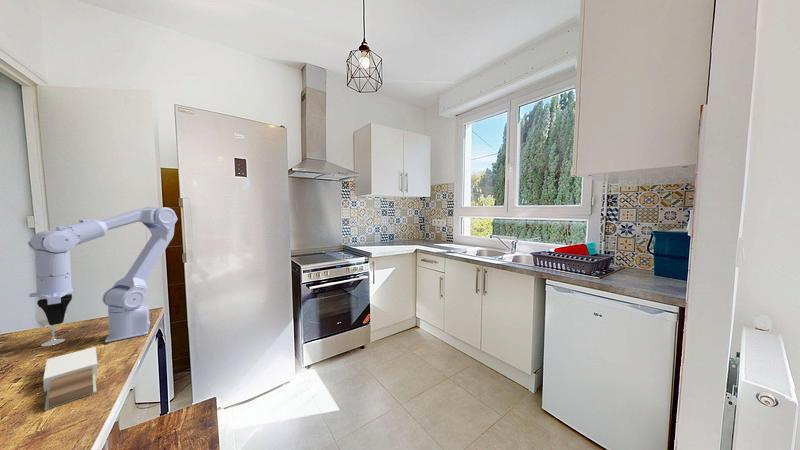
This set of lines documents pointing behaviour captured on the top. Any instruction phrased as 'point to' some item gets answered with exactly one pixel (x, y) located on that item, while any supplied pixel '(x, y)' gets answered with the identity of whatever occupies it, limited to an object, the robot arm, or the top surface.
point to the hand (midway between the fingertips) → (56, 323)
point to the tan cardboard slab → (70, 387)
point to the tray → (70, 365)
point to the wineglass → (43, 320)
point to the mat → (71, 400)
